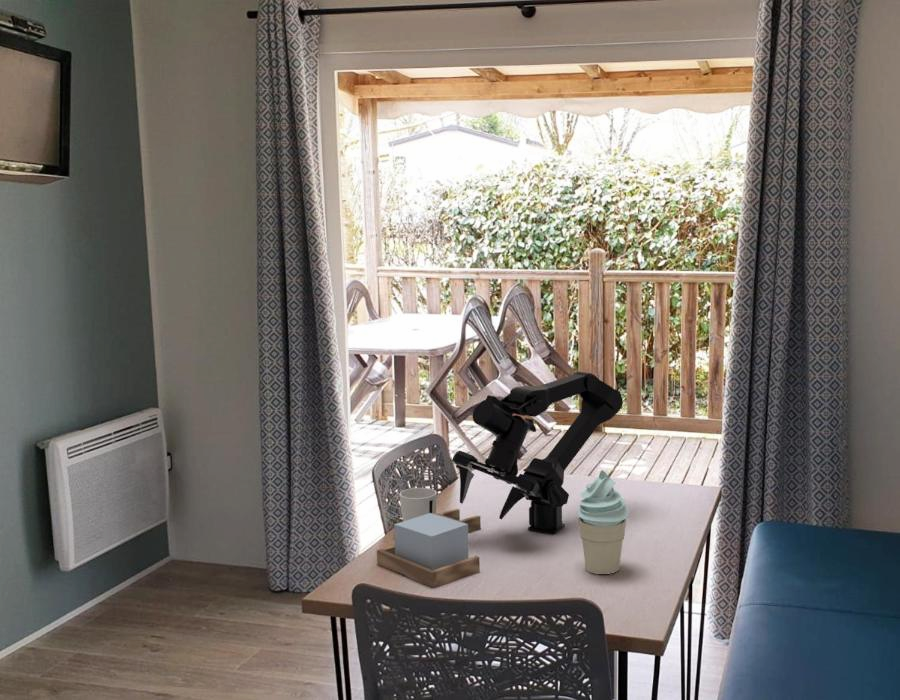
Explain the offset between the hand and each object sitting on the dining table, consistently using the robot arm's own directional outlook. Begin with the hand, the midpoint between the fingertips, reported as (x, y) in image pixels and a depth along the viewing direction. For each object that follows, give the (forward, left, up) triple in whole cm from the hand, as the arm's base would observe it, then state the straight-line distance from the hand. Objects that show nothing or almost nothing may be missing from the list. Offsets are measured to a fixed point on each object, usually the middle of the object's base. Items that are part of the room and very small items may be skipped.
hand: (480, 510), depth 210 cm
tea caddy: (+4, +13, -9) cm, 16 cm away
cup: (+16, -1, -9) cm, 18 cm away
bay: (+5, +14, -8) cm, 17 cm away
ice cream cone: (-27, 0, -9) cm, 29 cm away
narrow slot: (+11, -10, -8) cm, 17 cm away
